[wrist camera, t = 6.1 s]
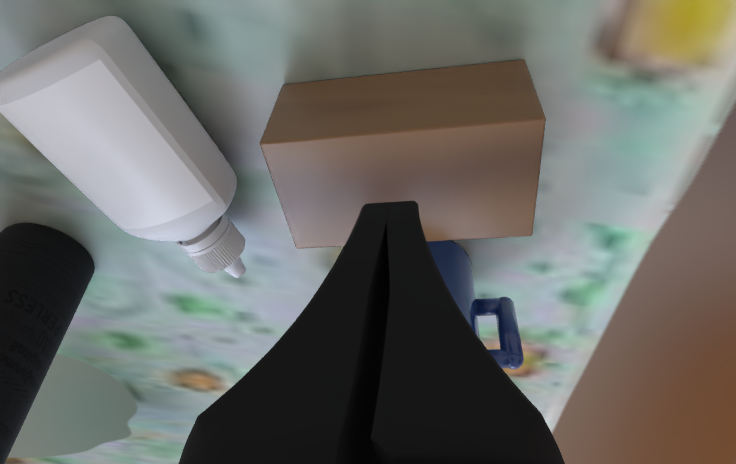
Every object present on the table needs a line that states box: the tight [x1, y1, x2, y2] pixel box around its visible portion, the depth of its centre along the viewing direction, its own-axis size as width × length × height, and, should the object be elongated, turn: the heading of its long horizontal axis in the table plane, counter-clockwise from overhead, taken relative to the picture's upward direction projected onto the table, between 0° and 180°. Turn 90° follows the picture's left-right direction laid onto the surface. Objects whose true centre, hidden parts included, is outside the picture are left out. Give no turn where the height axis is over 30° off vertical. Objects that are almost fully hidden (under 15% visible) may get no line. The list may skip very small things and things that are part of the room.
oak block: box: [260, 59, 546, 248], centre depth 19 cm, size 5×9×4 cm, turn 98°
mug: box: [427, 240, 524, 369], centre depth 23 cm, size 9×7×10 cm
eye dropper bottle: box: [0, 16, 246, 278], centre depth 20 cm, size 4×6×12 cm
